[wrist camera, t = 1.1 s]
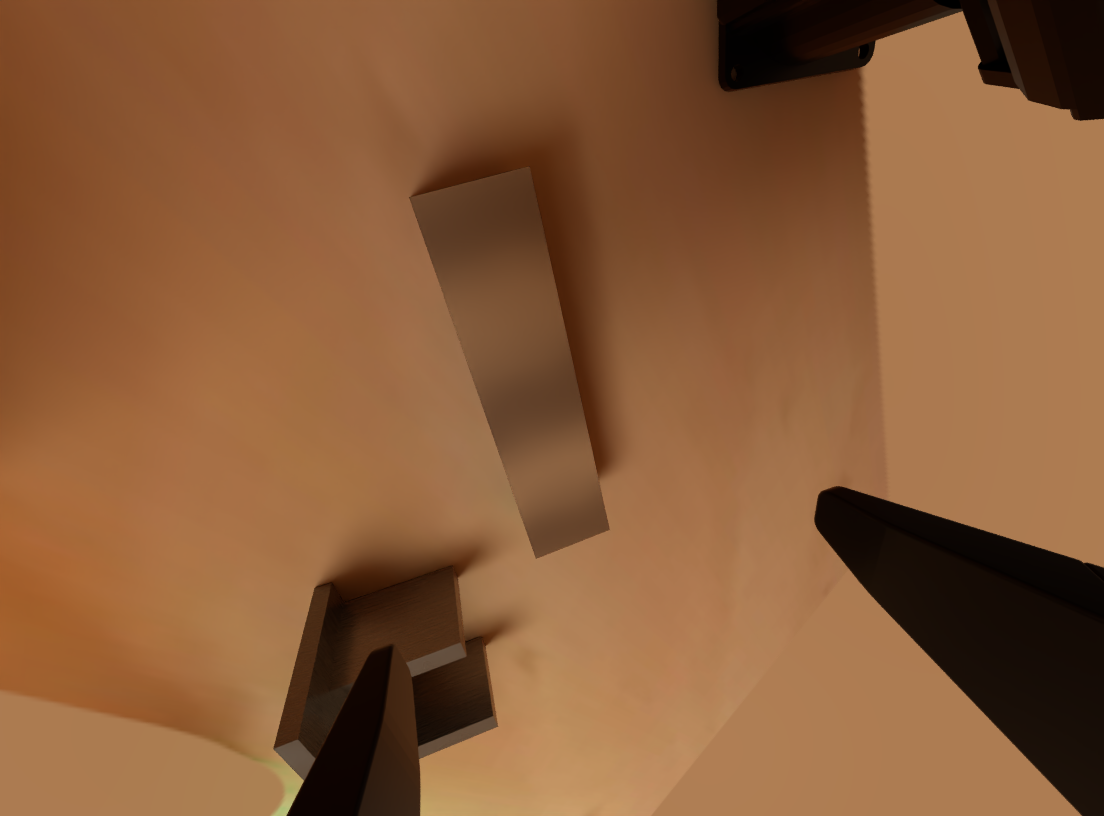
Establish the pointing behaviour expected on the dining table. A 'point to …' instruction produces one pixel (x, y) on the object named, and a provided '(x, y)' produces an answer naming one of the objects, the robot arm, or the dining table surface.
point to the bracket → (426, 645)
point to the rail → (516, 349)
